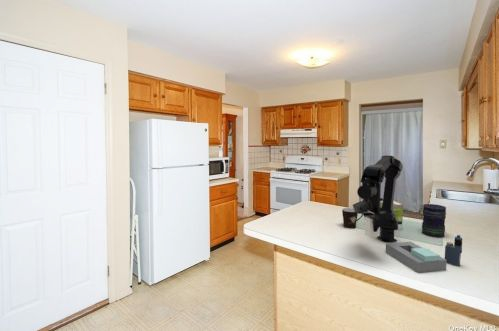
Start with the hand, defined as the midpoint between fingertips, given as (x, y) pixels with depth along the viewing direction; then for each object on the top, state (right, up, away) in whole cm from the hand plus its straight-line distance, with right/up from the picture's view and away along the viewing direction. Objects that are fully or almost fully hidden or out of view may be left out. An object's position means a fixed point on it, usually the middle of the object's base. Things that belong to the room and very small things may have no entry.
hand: (372, 230), depth 111 cm
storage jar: (+42, -8, +21) cm, 47 cm away
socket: (+14, -11, -7) cm, 19 cm away
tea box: (+25, -7, +35) cm, 44 cm away
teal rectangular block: (+14, -7, -13) cm, 21 cm away
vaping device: (+27, -11, -10) cm, 31 cm away
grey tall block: (0, -2, 0) cm, 2 cm away
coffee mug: (+5, -7, +34) cm, 35 cm away
